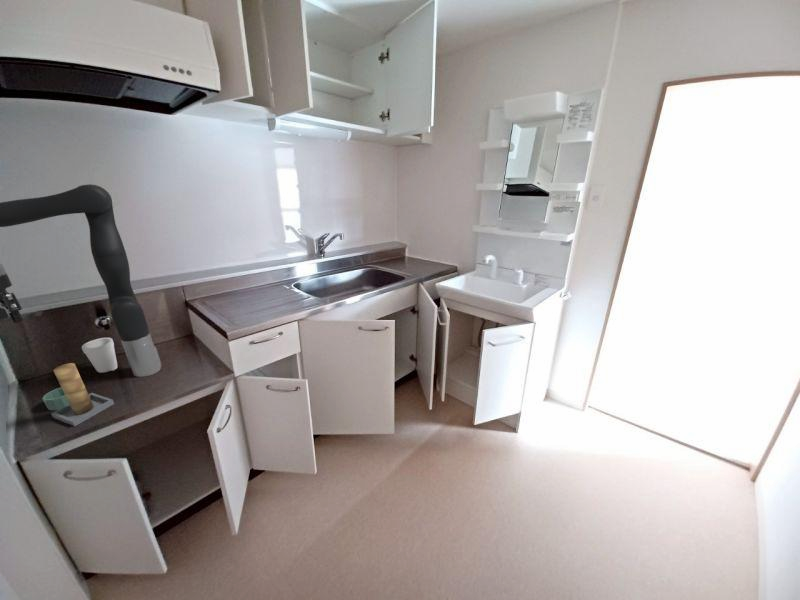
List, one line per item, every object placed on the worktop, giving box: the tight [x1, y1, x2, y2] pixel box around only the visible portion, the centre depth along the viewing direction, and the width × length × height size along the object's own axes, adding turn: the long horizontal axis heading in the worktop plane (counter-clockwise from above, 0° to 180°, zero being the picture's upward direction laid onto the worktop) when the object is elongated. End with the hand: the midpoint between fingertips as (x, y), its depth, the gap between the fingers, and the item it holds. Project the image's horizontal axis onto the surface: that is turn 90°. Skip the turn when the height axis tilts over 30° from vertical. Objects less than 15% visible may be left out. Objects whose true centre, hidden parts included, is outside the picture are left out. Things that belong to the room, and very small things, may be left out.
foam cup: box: [81, 337, 118, 374], centre depth 131 cm, size 10×9×13 cm
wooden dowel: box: [52, 362, 94, 415], centre depth 105 cm, size 5×5×18 cm
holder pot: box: [41, 386, 69, 411], centre depth 112 cm, size 8×8×5 cm
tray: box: [50, 392, 115, 427], centre depth 109 cm, size 12×12×2 cm
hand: (11, 320), depth 104 cm, fingers open, 8 cm apart
